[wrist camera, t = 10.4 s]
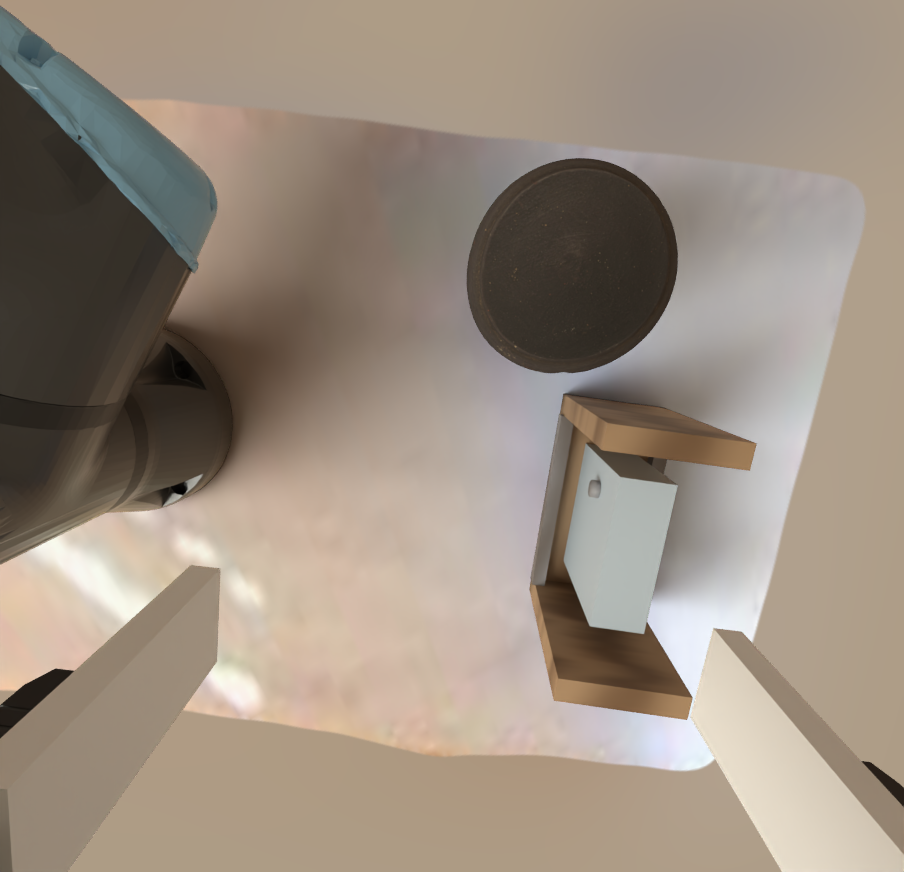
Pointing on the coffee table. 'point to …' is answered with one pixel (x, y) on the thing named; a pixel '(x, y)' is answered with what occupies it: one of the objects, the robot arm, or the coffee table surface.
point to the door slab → (617, 537)
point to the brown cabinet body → (553, 595)
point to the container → (571, 266)
